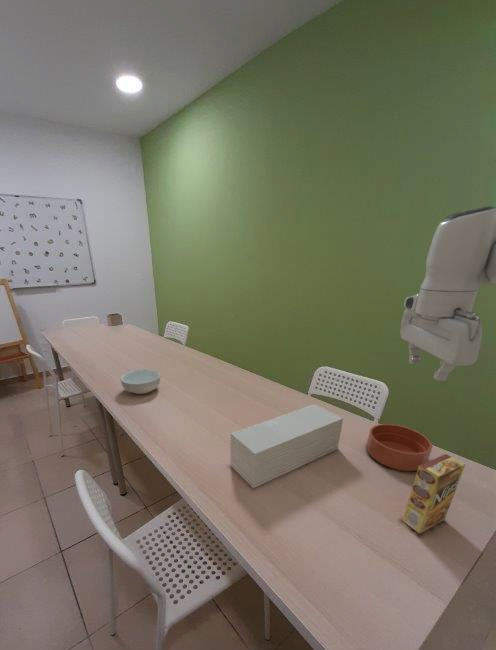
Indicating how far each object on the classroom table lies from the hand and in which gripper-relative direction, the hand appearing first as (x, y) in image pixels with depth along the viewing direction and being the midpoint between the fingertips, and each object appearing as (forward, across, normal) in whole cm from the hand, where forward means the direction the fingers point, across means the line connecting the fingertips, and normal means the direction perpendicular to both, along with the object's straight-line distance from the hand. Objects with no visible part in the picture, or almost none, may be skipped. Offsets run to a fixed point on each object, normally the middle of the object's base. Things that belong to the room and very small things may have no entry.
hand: (425, 371), depth 64 cm
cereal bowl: (+30, +54, +83) cm, 104 cm away
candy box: (+32, -10, -1) cm, 33 cm away
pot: (+31, +13, -6) cm, 35 cm away
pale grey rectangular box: (+31, +10, +26) cm, 42 cm away
